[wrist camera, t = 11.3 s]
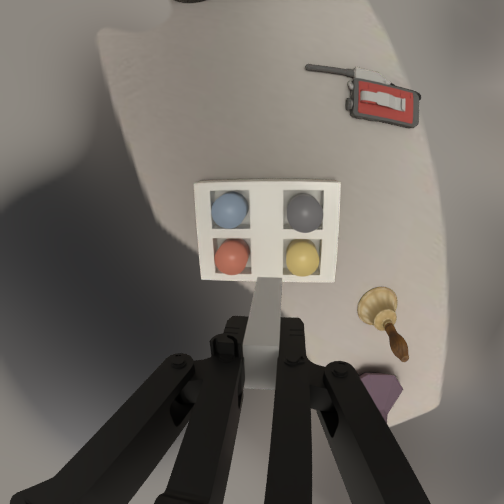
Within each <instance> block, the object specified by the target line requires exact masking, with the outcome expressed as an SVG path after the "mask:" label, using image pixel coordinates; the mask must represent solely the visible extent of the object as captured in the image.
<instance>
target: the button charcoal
mask: <svg viewBox="0 0 504 504" xmlns="http://www.w3.org/2000/svg"><path fill="white" fill-rule="evenodd" d="M287 220H288V222H289V224H290V226H291V227H292V228H293V229H294V230H296V231H298V232H301V233H309V232H312V231H314V230H316V229H317V228H318V227H319V226H320V225H321V223H322V220H323V210H322V207H321V205H320V204H319V202H318V201H317V200H316V198H315V197H313V196H312V195H310V194H307V193H300V194H297V195H295V196H293V197H292V198H291V199H290V200H289V202H288V204H287Z"/></svg>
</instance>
